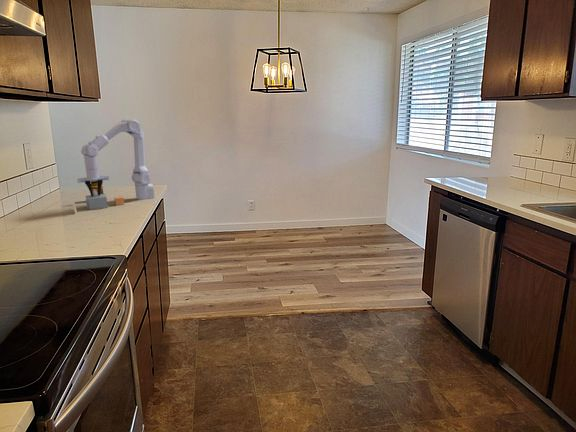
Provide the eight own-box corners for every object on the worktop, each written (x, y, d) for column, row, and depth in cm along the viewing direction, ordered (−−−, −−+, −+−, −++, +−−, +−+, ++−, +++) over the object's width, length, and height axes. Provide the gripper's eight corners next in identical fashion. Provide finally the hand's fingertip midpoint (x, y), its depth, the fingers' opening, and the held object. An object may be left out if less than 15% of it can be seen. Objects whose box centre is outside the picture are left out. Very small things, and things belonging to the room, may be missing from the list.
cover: (105, 204, 229) (103, 187, 227) (107, 207, 221) (105, 190, 219) (86, 206, 225) (84, 188, 223) (88, 210, 217) (85, 192, 215)
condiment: (103, 203, 237) (100, 181, 234) (87, 203, 236) (83, 182, 233) (106, 200, 244) (104, 179, 241) (91, 201, 243) (88, 179, 240)
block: (123, 203, 231) (122, 196, 230) (124, 205, 227) (123, 197, 226) (115, 204, 229) (114, 197, 228) (116, 206, 226) (115, 198, 225)
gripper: (76, 171, 212) (80, 198, 215) (108, 168, 218) (111, 195, 221) (75, 169, 218) (79, 196, 221) (106, 166, 224) (110, 192, 227)
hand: (95, 195), depth 222 cm, fingers closed on cover, 3 cm apart
